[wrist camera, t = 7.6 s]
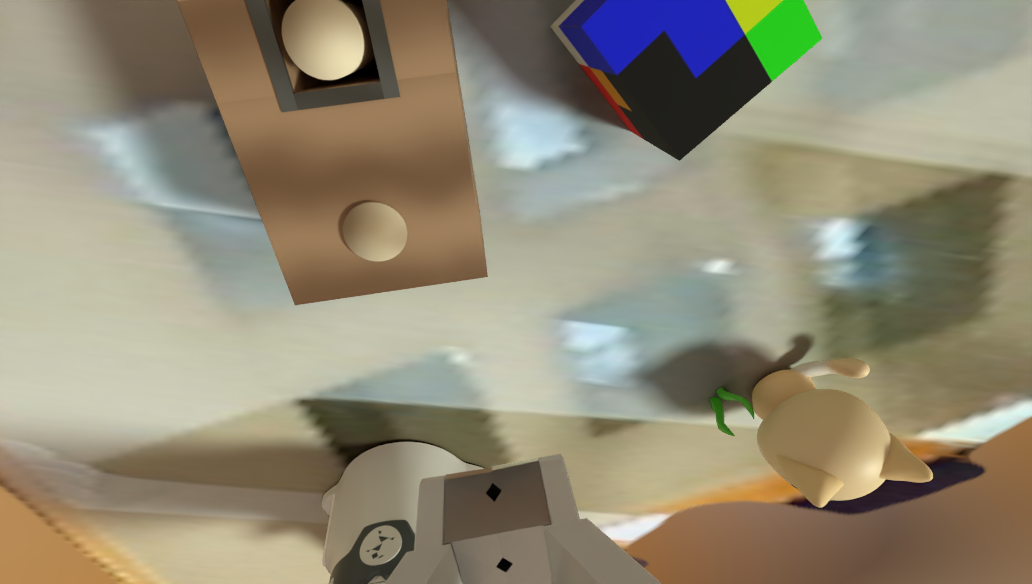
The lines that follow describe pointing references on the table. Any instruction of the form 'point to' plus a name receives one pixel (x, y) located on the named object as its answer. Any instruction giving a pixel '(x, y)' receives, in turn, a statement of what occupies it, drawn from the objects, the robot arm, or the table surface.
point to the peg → (327, 37)
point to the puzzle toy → (683, 59)
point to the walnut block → (349, 148)
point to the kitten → (824, 434)
